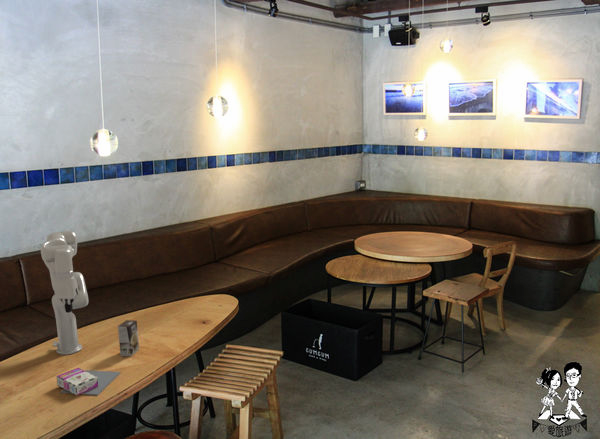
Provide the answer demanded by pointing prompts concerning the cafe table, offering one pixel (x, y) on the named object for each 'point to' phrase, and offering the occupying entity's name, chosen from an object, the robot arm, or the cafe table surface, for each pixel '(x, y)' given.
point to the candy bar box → (77, 381)
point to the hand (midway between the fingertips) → (69, 311)
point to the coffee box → (128, 338)
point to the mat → (99, 381)
